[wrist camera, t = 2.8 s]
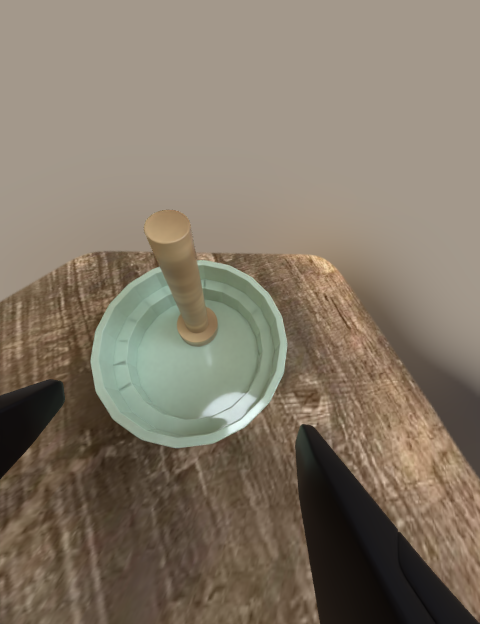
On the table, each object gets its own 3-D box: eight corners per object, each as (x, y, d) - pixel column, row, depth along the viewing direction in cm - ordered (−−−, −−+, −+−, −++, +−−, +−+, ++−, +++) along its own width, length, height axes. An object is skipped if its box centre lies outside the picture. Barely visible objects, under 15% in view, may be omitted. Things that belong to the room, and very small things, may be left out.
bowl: (223, 477, 19) (223, 499, 14) (87, 381, 21) (44, 370, 16) (296, 330, 25) (314, 309, 20) (183, 269, 27) (173, 236, 22)
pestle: (204, 354, 22) (175, 273, 10) (171, 334, 23) (104, 234, 10) (225, 322, 24) (224, 216, 11) (194, 304, 25) (160, 186, 12)
